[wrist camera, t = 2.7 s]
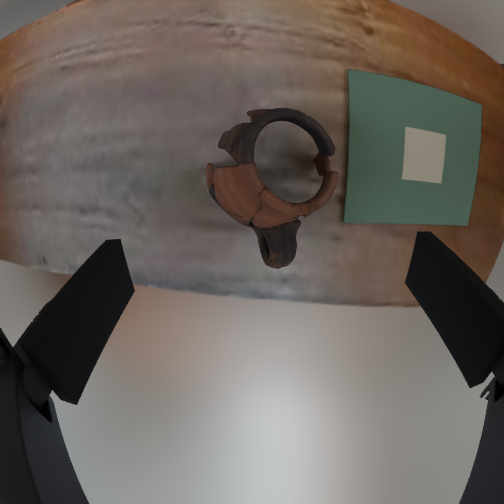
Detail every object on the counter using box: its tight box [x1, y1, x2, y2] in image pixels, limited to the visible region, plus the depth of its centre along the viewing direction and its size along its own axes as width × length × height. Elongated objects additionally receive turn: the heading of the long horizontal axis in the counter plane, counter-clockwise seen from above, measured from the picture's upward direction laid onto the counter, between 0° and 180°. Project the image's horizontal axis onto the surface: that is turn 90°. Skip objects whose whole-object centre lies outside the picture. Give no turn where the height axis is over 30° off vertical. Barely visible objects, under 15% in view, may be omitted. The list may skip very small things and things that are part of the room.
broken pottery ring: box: [206, 108, 338, 269], centre depth 21 cm, size 12×10×8 cm
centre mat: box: [343, 69, 482, 226], centre depth 21 cm, size 16×14×1 cm
